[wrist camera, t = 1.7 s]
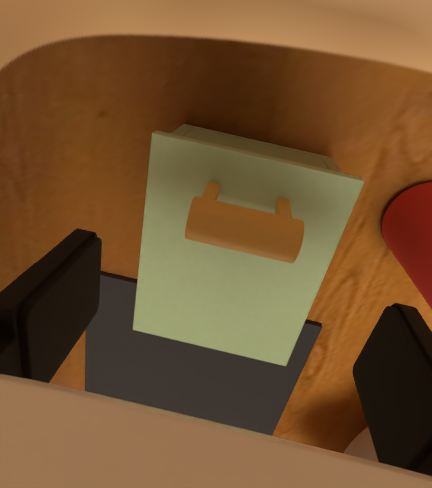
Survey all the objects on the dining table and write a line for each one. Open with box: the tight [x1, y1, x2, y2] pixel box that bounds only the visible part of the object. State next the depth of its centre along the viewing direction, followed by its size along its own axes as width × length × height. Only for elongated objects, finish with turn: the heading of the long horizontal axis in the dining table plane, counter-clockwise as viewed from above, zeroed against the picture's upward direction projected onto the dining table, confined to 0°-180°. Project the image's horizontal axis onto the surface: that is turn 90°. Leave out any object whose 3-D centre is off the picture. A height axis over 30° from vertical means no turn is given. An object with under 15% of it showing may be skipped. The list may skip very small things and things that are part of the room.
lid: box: [133, 131, 364, 366], centre depth 20 cm, size 15×12×6 cm
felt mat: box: [85, 272, 322, 436], centre depth 39 cm, size 24×24×1 cm
